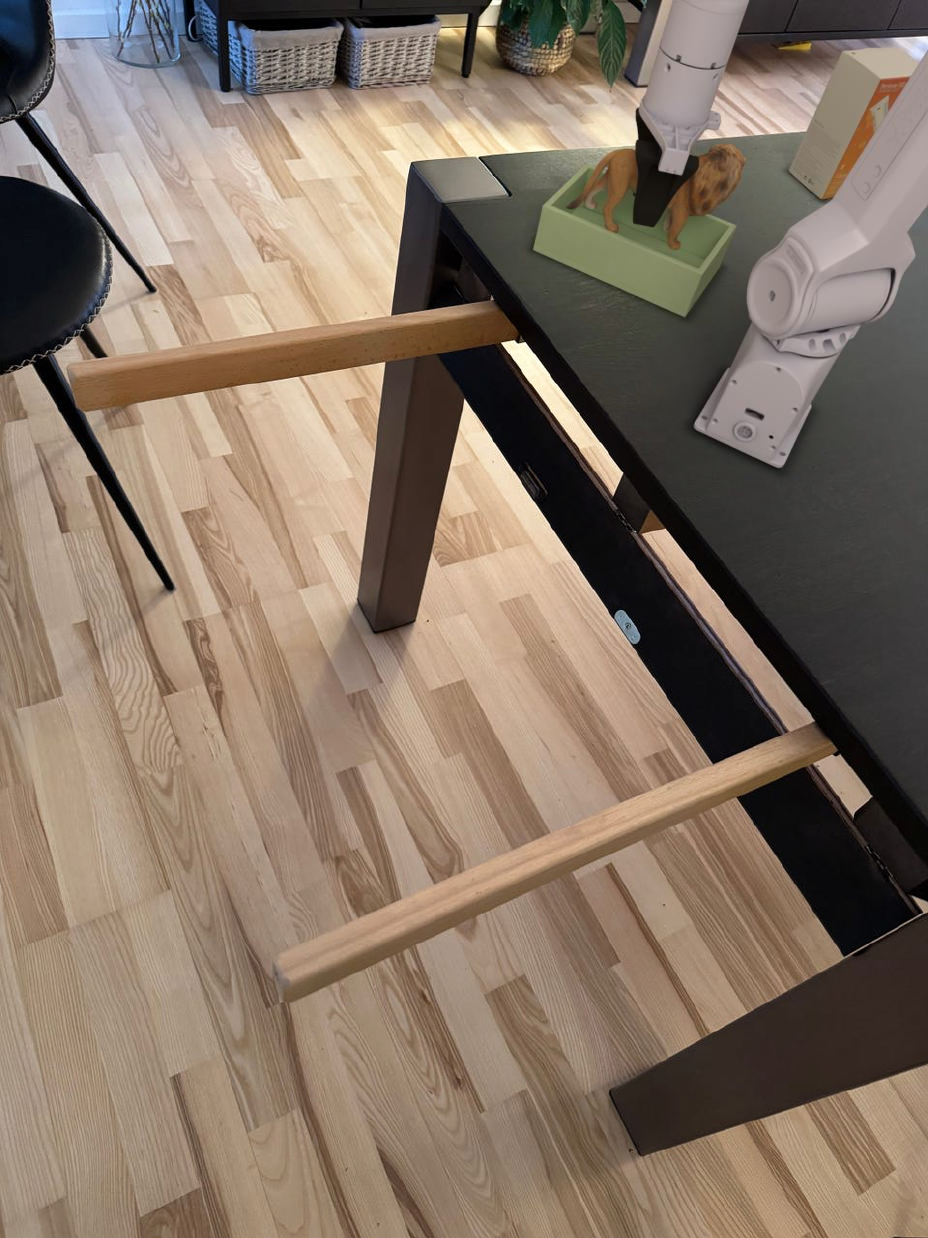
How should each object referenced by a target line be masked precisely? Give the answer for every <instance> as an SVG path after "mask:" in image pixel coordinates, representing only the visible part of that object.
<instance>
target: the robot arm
mask: <svg viewBox="0 0 928 1238" xmlns="http://www.w3.org/2000/svg"><path fill="white" fill-rule="evenodd" d="M749 2H750V0H672V1H671V5H670V7H669V11H668V15H667V18H666V22H665V25H664V28H663V32H662V35H661V38H660V43H659V46H658V49H657V53H656V57H655V60H654V62H653V66H652V70H651V74H650V76H649V80H648V84H647V87H646V92H645V94H644V95H643V96H642V97H641V100H640V103H639V107H637V108H635V124H636V129H637V130H636V131H637V139H636V140H635V143H634V144H635V146H634V148H635V149H634V150H635V155H636V162H637V168H638V179H637V188H636V194H635V193H634V192H633V196H635V200H634V206H633V223H634V224H638V225H643V226H648V227H652V228H653V227H655V225H656V224H657V222H658V221H659V219H660V218H661V216H662V215H663V213H664V211H665V209H666V208H667V206H668V204H669V203H670V201H671V200H672V198H673V196H674V195H675V194H676V192H677V191H678V190H679V189H680V187H681V186H682V185H683V184H684V183H685V182H686V181H687V180H688V179H689V178H691V177H692V176H693V175H694V174H695V173H696V171H697V170H698V168H699V157H698V156H699V155H692V154H690V152H691V149H692V148H693V147H694V146H695V144H696V143H697V142H698V140H699V139H700V138H701V137H702V135H703V134H704V133H705V131H707V130H710V131H718V130H719V129H720V127H721V123H722V116H721V114H720V113H719V112H718V111H714V110H712V108H713V105H714V102H715V99H716V96H717V93H718V91H719V88H720V85H721V83H722V79H723V76H724V73H725V70H726V68H727V65H728V63H729V60H730V56H731V55H732V54H731V53H732V51H733V48H734V45H735V43H736V40H737V36H738V34H739V31H740V27H741V25H742V23H743V19H744V17H745V15H746V14H745V13H746V11H747V8H748V5H749ZM927 207H928V49H927V50H926V52H925V54H924V55H923V56H922V58H921V59H920V61H919V64H918V66H917V68H916V69H915V71H914V72H913V74H912V75H911V77H910V78H909V80H908V82H907V83H906V85H905V86H904V88H903V89H902V91H901V93H900V94H899V96H898V97H897V99H896V100H895V102H894V104H893V105H892V107H891V108H890V110H889V111H888V113H887V114H886V116H885V118H884V119H883V121H882V122H881V124H880V125H879V127H878V129H877V130H876V132H875V133H874V135H873V136H872V138H871V139H870V141H869V143H868V144H867V146H866V147H865V149H864V150H863V152H862V154H861V155H860V157H859V158H858V160H857V161H856V163H855V165H854V166H853V168H852V169H851V171H850V172H849V174H848V175H847V177H846V179H845V180H844V182H843V183H842V185H841V186H840V188H839V190H838V191H837V193H836V194H835V196H834V197H832V198H831V199H830V200H829V201H828V202H827V203H825V204H824V205H822V206H821V207H820V208H817V209H816V210H814V211H813V212H811V213H810V214H808V215H806V216H805V217H804V218H801V220H799V221H798V222H796V223H795V224H793V225H791V226H790V227H789V228H788V229H787V231H786V233H785V234H784V236H783V237H782V239H781V241H780V242H779V243H778V244H777V245H776V246H775V247H774V248H773V249H771V250H769V251H767V252H766V253H764V254H763V255H762V256H760V257H759V259H758V260H757V261H756V263H755V264H754V266H753V268H752V270H751V272H750V274H749V278H748V281H747V288H746V305H747V311H748V318H749V320H750V321H751V323H750V325H749V327H748V328H747V329H748V330H747V331H746V334H745V336H744V337H743V339H742V342H741V344H740V346H739V348H738V350H737V353H736V355H735V357H734V359H733V361H732V363H731V365H730V367H728V368H726V369H725V372H724V373H723V375H722V377H721V378H720V380H719V381H718V383H717V385H716V387H714V390H713V391H712V393H711V394H710V396H709V398H708V399H707V401H706V403H705V405H704V406H703V408H702V409H701V411H700V413H699V415H698V417H697V418H696V419H695V421H694V423H693V428H694V430H695V431H697V432H699V433H701V434H703V435H706V436H708V437H709V438H712V439H715V440H716V441H718V442H721V443H723V444H725V445H727V446H729V447H731V448H733V449H735V450H738V451H740V452H742V453H744V454H745V455H748V456H751V457H753V458H755V459H757V460H759V461H761V462H763V463H766V464H768V465H770V466H772V467H774V468H777V469H781V468H783V467H784V465H785V463H786V461H787V459H788V457H789V456H790V453H791V450H792V449H793V447H794V444H795V442H796V441H797V438H798V436H799V434H800V433H801V430H802V428H803V427H804V424H805V421H806V419H807V417H808V415H809V413H810V412H811V410H812V402H813V400H814V398H815V397H816V395H817V393H818V392H819V390H820V388H821V386H822V385H823V383H824V381H825V380H826V379H827V376H828V374H829V373H830V371H831V370H832V368H833V367H834V365H835V363H836V361H837V360H838V358H839V356H840V355H841V353H842V351H843V349H844V348H845V346H846V344H847V343H848V341H849V340H852V339H854V338H855V336H856V334H857V333H858V331H859V330H860V328H861V326H862V325H868V324H872V323H873V322H874V323H875V322H876V321H878V320H879V319H881V318H882V317H883V316H885V314H886V313H887V312H888V311H889V310H890V308H891V307H892V305H893V304H894V301H895V299H896V297H897V293H898V291H899V287H900V283H901V281H902V278H903V276H904V274H905V272H906V270H907V269H908V268H909V267H910V265H911V264H912V262H913V261H914V260H915V258H916V251H915V249H914V245H913V241H912V239H911V236H910V234H909V230H910V229H911V228H912V227H913V225H914V224H915V223H916V221H917V220H918V218H919V217H920V216H921V214H922V213H923V212H924V211H925V209H926V208H927Z"/></svg>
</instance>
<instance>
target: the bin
mask: <svg viewBox="0 0 928 1238" xmlns="http://www.w3.org/2000/svg"><path fill="white" fill-rule="evenodd" d="M596 167H597V166H594V165H593V164H590V163H588V162H586V163H585V164H584V165H583V166H581V168H580V169H579V170H578V171H577V172H576V173H574V174H573V176H571V177H570V178H569V180H568V181H566V182H565V183H564V184H563V185H562V186H561V187H560V188H559V189H558V190H557V191H556V192H554V194H553V195H552V196H551V197H549V199H548V200H547V201H546V202H545V203H544V204H543V205H542V208H541V213H540V217H539V222H538V225H537V231H536V235H535V240H534V244H533V247H532V251H534V252H536V253H539V254H540V255H543V256H546V257H547V258H550V259H551V260H554V261H556V262H559V263H561V264H563V265H565V266H568V267H570V268H572V269H575V270H577V271H579V272H581V273H584V274H586V275H587V276H590V277H593V278H594V279H597V280H599V281H601V282H604V283H606V284H609V285H611V286H613V287H615V288H618V289H620V290H622V291H624V292H627V293H628V294H631V295H633V296H635V297H638V298H640V299H643V300H645V301H647V302H649V303H651V304H653V305H656V306H658V307H660V308H663V309H665V310H667V311H669V312H672V313H674V314H676V315H678V316H680V317H682V318H686V317H687V315H688V314H689V312H691V310H692V308H693V307H694V305H695V304H696V302H697V301H698V300H699V298H700V297H701V295H702V294H703V293H704V291H705V290H706V288H707V286H708V285H709V284H710V283H711V281H712V279H713V278H714V277H715V275H716V274H717V272H718V271H719V269H720V268H721V266H722V263H723V260H724V259H725V255H726V253H727V251H728V249H729V246H730V244H731V242H732V239H733V237H734V234H735V232H736V229H737V224H734V223H732V222H729V221H727V220H725V219H721V218H719V217H717V216H714V215H712V214H711V213H709V214H706V215H705V216H698V215H696V216H689V217H688V219H687V221H686V224H685V226H684V227H683V229H682V231H681V232H680V233H679V235H678V237H677V241H679V242H680V244H681V247H680V248H679V249H678V250H673V249H671V248H670V247H669V246H668V244H667V235H668V233H666V232H665V231H664V230H663V222H664V220H665V218H666V215H667V212H668V209H665V211H664V213H663V215H662V216H661V218H660V219H659V221H658V222H657V224H656V225H655V227H653V228H652V227H648V226H643V225H638V224H634V223H633V206H634V200H635V196H633V191H632V190H631V189H630V188H629V189H628V190H627V191H626V194H625V196H624V197H623V198H622V200H621V201H620V202H619V203H618V204H617V206H616V207H615V208H614V210H613V213H612V220H613V222H614V223H616V224H618V225H619V229H618V232H617V233H614V232H611V231H609V230H607V229H606V227H605V221H604V215H603V211H602V209H603V206H604V205H605V203H606V201H607V198H608V189H607V190H604V191H601V192H599V193H597V194H596V195H595V196H594V197H593V200H594V201H596V202H597V204H598V206H597V208H596V209H594V210H591V209H588V208H587V207H585V205H584V200H583V201H582V203H581V204H580V205H579V206H578V207H577V208H575V209H573V210H570V209H567V208H566V206H567V205H569V204H570V203H571V202H572V201H574V200H576V199H577V198H578V197H579V196H580V195H581V194H582V192H583V190H584V189H585V187H586V185H587V183H588V181H589V179H590V177H591V175H592V173H593V172H594V170H595V169H596ZM606 171H607V170H605V169H604V170H603V171H602V173H601V174H600V175H599V177H598V178H597V180H599V179H600V178H601V177H602V176H603V175H604V174H605V172H606ZM597 180H596V181H597Z"/></svg>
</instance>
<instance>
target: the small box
mask: <svg viewBox="0 0 928 1238" xmlns="http://www.w3.org/2000/svg"><path fill="white" fill-rule="evenodd" d="M919 63H920V61H918V60H917V59H915V58H914V57H912V56H911V55H910V54H909V53H907V52H905V51H904V50H903V49H901V48H900V47H899V46H887V47H865V48H861V49H852V50H851V49H849V50H842V51H841V53H840V55H839V58H838V60H837V62H836V64H835V67H834V68H833V71H832V73H831V76H830V78H829V80H828V82H827V85H826V87H825V88H824V91H823V94H822V95H821V98H820V100H819V102H818V105H817V106H816V109H815V111H814V113H813V116H812V117H811V120H810V122H809V125H808V127H807V129H806V131H805V133H804V136H803V138H802V140H801V141H800V144H799V146H798V148H797V151H796V153H795V155H794V158H793V159H792V162H791V165H790V167H789V168H788V172H789V173H790V174H791V175H792V176H793V177H794V178H796V180H798V181H799V182H800V183H801V184H802V185H803V186H805V187H806V188H807V189H808V190H809V191H810V192H811V193H813V194H814V195H815V196H816V197H818V198H819V200H826V199H830V198H831V199H833V197H834V196H835V194H836V193H837V191H838V190H839V188H840V186H841V185H842V183H843V182H844V180H845V179H846V177H847V175H848V174H849V172H850V171H851V169H852V168H853V166H854V165H855V163H856V161H857V160H858V158H859V157H860V155H861V154H862V152H863V150H864V149H865V147H866V146H867V144H868V143H869V141H870V139H871V138H872V136H873V135H874V133H875V132H876V130H877V129H878V127H879V125H880V124H881V122H882V121H883V119H884V118H885V116H886V114H887V113H888V111H889V110H890V108H891V107H892V105H893V104H894V102H895V100H896V99H897V97H898V96H899V94H900V93H901V91H902V89H903V88H904V86H905V85H906V83H907V82H908V80H909V78H910V77H911V75H912V74H913V72H914V71H915V69H916V68H917V66H918V64H919Z"/></svg>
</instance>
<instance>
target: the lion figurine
mask: <svg viewBox="0 0 928 1238" xmlns="http://www.w3.org/2000/svg"><path fill="white" fill-rule="evenodd" d="M742 153H743V152H742V151H741V150H739V149H738V148H737V147H736V146H735V145H734V144H731V143H725V142H724V143H723V144H720V143H718V144H714V145H713V144H712V145H710V147H709V149H708V151H707V152H706V153H705V154H699V155H697V156H698V157H699V168H698V170H697V171H696V173H695V174H694V175H693V176H692V177H691V178H689V179H688V180H687V181H686V182H685V183H684V184H683V185H682V186H681V187H680V189H679V190H678V191H677V192H676V194H675V195H674V196H673V198H672V200H671V201H670V203H669V204H668V206H667V208H666V209H668V212H667V215H666V218H665V220H664V222H663V230H664V231H665V232H666V233H668V235H667V244H668V246H669V247H670V248H671V249H673V250H678V249H679V248H680V247H681V244H680V242H679V241H677V237H678V235H679V233H680V232H681V231H682V229H683V227H684V226H685V224H686V221H687V219H688V217H689V216H696V215H698V216H705V215H706V214H711V213H712V212H713V210H715V209H716V207H718V206H720V205H721V204H722V203H724V202H726V200H727V199H729V198H730V196H731V195H732V194H733V192H734V191H735V190H736V189H737V187H738V186H739V183H740V181H741V180H742V172H743V167H744V166H745V164H746V162H747V158H746V156H743V154H742ZM595 167H596V169H595V170H594V172H593V173H592V175H591V177H590V179H589V181H588V183H587V185H586V187H585V189H584V190H583V192H582V194H581V195H580V196H579V197H578V198H577V199H576V200H574V201H572V202H571V203H570V204H569V205H567V206H566V208H567V209H570V210H573V209H575V208H577V207H578V206H579V205H580V204H581V203H582V201H583V200H584V205H585V207H587V208H588V209H591V210H594V209H596V208H597V206H598V204H597V202H596V201H594V200H593V197H594V196H595V195H596V194H597V193H599V192H601V191H604V190H607V189H608V198H607V201H606V203H605V205H604V206H603V209H602V211H603V215H604V221H605V227H606V229H607V230H609V231H611V232H614V233H617V232H618V229H619V225H618V224H616V223H614V222H613V220H612V213H613V210H614V208H615V207H616V206H617V204H618V203H619V202H620V201H621V200H622V198H623V197H624V196H625V194H626V191H627V190H628V189H629V188H630V189H631V190H632V191H633V192H634V193H635V194H636V188H637V179H638V168H637V162H636V155H635V149H634V148H619V149H615V150H612V151H610V152H609V153H608V154H606V155H605V156H604V157H603V158H602V159H601V160H600V161H599V163H598V164H597V166H595ZM605 168H607V170H605ZM603 170H605V171H606V172H605V174H604V175H603V176H602V177H601V178H600V179H599V180H597V178H598V177H599V175H600V174H601V173H602V171H603ZM596 180H597V181H596Z"/></svg>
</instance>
